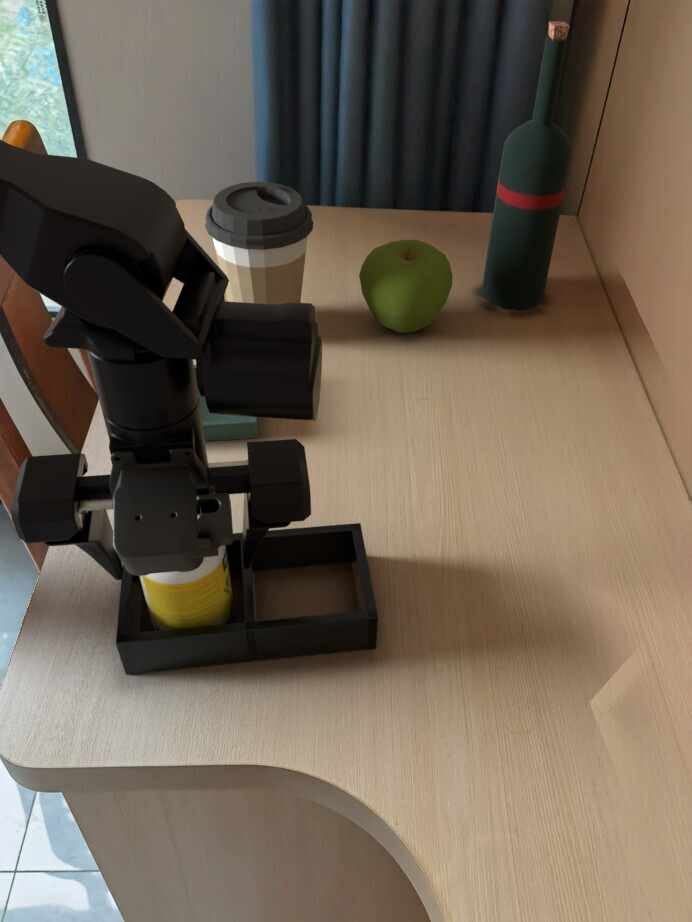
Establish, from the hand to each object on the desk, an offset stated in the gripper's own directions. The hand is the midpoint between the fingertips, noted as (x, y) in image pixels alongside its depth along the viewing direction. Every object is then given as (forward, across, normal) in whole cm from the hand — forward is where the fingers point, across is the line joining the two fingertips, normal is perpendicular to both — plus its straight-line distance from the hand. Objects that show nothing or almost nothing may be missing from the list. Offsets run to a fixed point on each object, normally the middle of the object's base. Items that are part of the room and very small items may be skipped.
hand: (184, 569), depth 59 cm
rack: (+6, +5, 0) cm, 7 cm away
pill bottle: (+6, 0, 0) cm, 6 cm away
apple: (+6, +24, +40) cm, 47 cm away
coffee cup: (+6, +8, +42) cm, 43 cm away
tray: (+6, +1, +26) cm, 27 cm away
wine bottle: (+6, +39, +47) cm, 62 cm away
